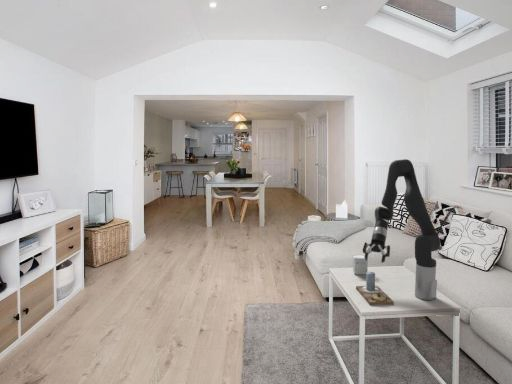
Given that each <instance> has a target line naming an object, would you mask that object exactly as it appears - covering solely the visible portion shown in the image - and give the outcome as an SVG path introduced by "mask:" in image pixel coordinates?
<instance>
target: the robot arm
mask: <svg viewBox="0 0 512 384" xmlns="http://www.w3.org/2000/svg"><path fill="white" fill-rule="evenodd" d="M399 177H400V178H401V177H403V178H404V181H405V185H406V187H405V192H404V197H403V201H404V205H405V207H406V211H407V213H408V214H409V216H410V217H411V218H412V219H413V220H414V221H415V223H416V224H417V226H418V227H419V228H420V231H421V233H422V234H420V235H418V236H416V238H415V241H414V258H415V261H416V262H415V263H416V264H415V282H414V296H415V297H416V298H418V299H421V300H424V301H425V300H426V301H430V302H432V301H433V300H435V299H436V298H437V289H438V288H437V287H438V280H437V278H436V273H437V261H436V259H434V258H432V252H436V251H438V250H439V249H440V248H441V245H442V244H441V239H440V237H439V235H438V233H437V231H436V229H435V226H434V224H433V222H432V219H431V217H430V214H429V212H428V210H427V206H426V203H425V200H424V197H423V195H422V192H421V190H420V185H419V183H418V179H417V176H416V172H415V168H414V165H413V162H412V161H411V160H409V159H406V158H404V159H398V160H397V159H396V160H393V161H392V162H391V163H390V164H389V167H388V172H387V180H386V184H385V185H386V186H385V190H384V194H383V196H382V200H381V205H382V206H377V207H376V208H375V210H374V217H375V223H374V224H375V225H374V229H373V232H372V235H371V240H370V243H367V242H366V241H365V242H364V243H363V247H362V253H363V254H364V256H365V259H366V260H367V259H369V254H371V253H378V254H379V253H380V254H381V255H382V257H381V261H380V262H381V263H382V264H383V263H385V261H386V258H389V257H390V254H391V246H390V245H389V244H388V245H386V240H387V235H388V228H389V222H388V221H391V220H393V218H394V208H395V207H394V206H395V203H396V201H397V198H398V191H397V186H396V184H397V180H398V179H399ZM384 250H386V253H385V251H384Z"/></svg>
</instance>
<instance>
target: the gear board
mask: <svg viewBox="0 0 512 384" xmlns="http://www.w3.org/2000/svg"><path fill="white" fill-rule="evenodd" d="M355 289H356V290H357V291H358V293H359V294H360V295H361V297H363V299H364V300H365V301H366V302H367V303H368V305H370V306H373V305H374V306H375V305H376V306H377V305H383V306H384V305H394V300H393V299H392V298H391V297H390V296H389V295H387V293H386V292H385V291H383V289H381V287H380V286H378V285H375V291H368V290H367V289H366V285H356V286H355Z"/></svg>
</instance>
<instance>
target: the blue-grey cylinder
mask: <svg viewBox="0 0 512 384" xmlns="http://www.w3.org/2000/svg"><path fill="white" fill-rule="evenodd" d="M365 275H366V277H365V278H366V280H365V282H366V283H365V286H366V289H367V290H368V291H375V286H376V272H373V271H367V273H366V274H365Z"/></svg>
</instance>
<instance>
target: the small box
mask: <svg viewBox="0 0 512 384" xmlns="http://www.w3.org/2000/svg"><path fill="white" fill-rule="evenodd" d="M368 259H369V258H368ZM368 259H367V260H366V259H365V255H353V256H352V272H353V273H354V275H366V273H367V272H368V262H369V261H368Z"/></svg>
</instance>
